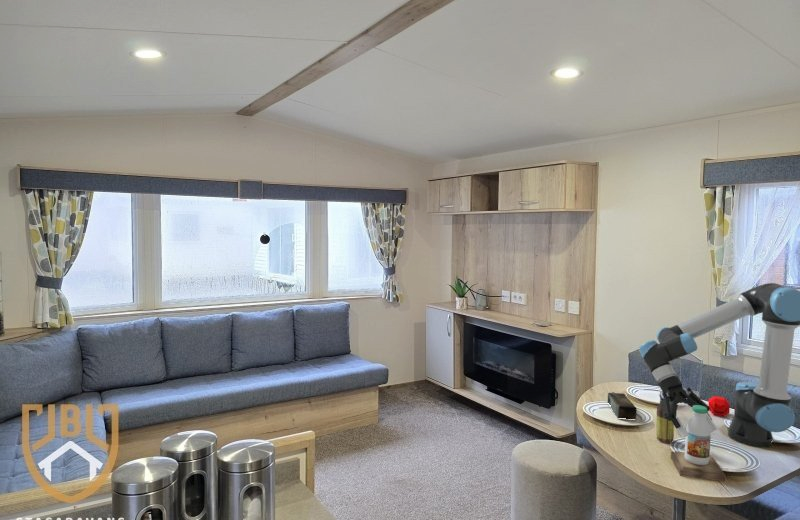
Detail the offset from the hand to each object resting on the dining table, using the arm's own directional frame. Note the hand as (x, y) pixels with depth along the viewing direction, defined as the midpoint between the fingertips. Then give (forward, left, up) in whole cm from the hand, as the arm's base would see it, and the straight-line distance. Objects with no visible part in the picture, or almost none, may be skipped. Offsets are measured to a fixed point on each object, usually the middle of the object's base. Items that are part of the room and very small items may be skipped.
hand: (700, 433), depth 183 cm
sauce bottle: (+6, -23, -14) cm, 27 cm away
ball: (-24, -59, -14) cm, 65 cm away
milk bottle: (+1, 0, -11) cm, 11 cm away
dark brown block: (+19, -50, -14) cm, 55 cm away
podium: (0, 0, -13) cm, 13 cm away
